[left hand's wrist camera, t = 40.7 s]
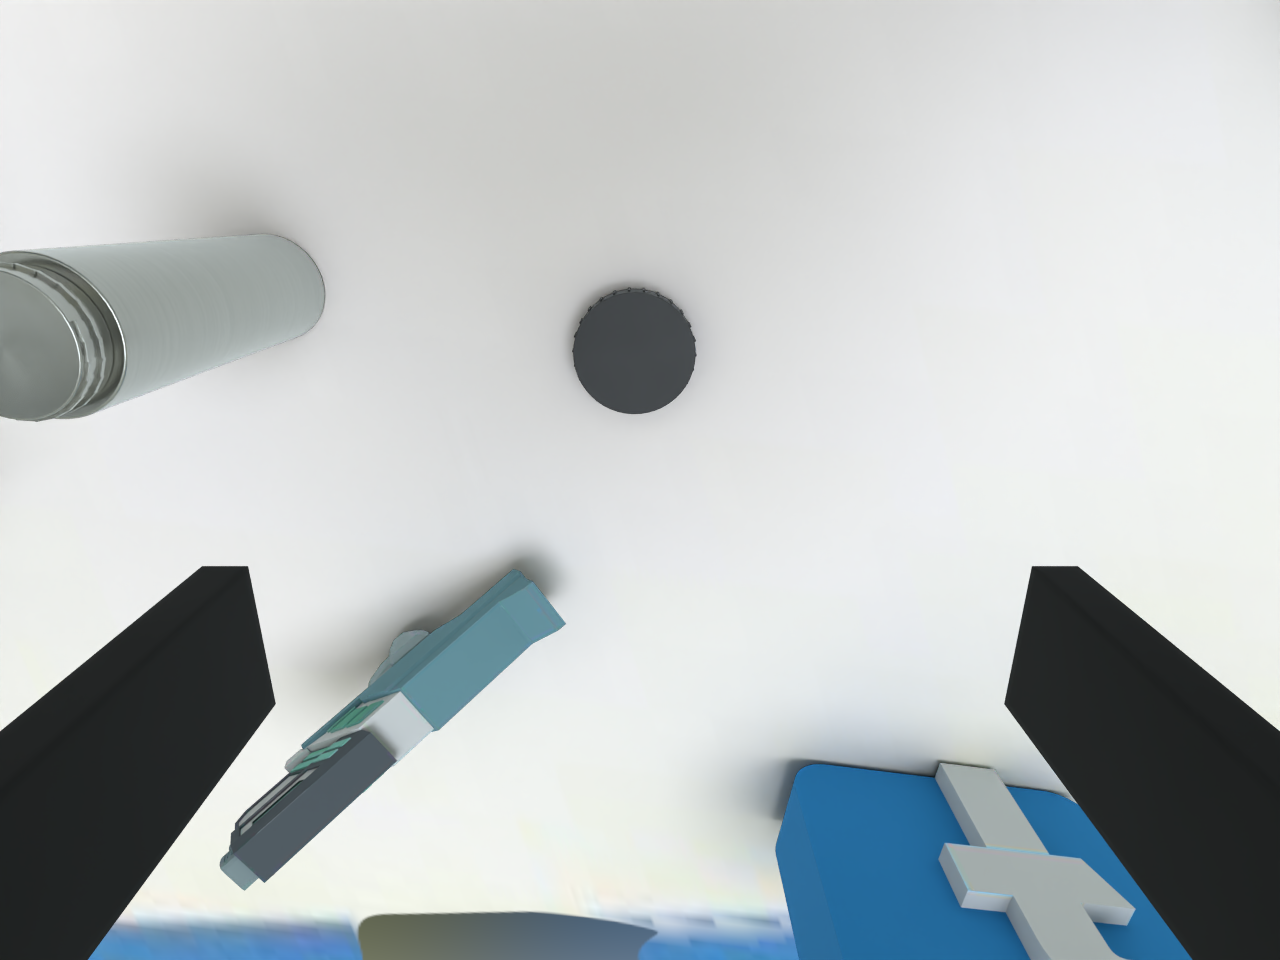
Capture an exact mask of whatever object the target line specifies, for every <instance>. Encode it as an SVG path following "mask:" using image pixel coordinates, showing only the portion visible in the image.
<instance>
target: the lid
mask: <svg viewBox="0 0 1280 960" xmlns="http://www.w3.org/2000/svg"><path fill="white" fill-rule="evenodd" d="M690 328H691V325H690V323H689V322H687V320H686V318H685V317H684V315H683V311H682V310H679V309H678V308H677V307H676V306H675V305H674V304H673V302H672V300H671V299H670V300H668V299H667V298H665V297H663V296H662V295H660V294H659V292H657V293H655V292H652V291H648V290H645V288H643V289H630V287H629V288H628V289H626V290H620V291H617V292H616V290H615V291H613V293H612V294H610V295H607V296H605V297H604V298H603V297H601V298H600V300H599V301H598V302H597V303H596V304H595V305H594V306H593V307H591V306H590V307H589V309H588V312H587V314H586V315H585V317H584V319H583V318H582V319H581V321H580V326H579V329H578V331H577V332H576V334H575V335H574V337H575V342H574V348H573V350H572V352H573V356H574V367H575V369H576V372H577V375H578V377H579V380H580V381H581V383H582V385H583V386H584V388H585V389H586V391H587V392H588V393H589V394H590V395H591V396H592V397H593V398H594V399H595V400H596V401H597V402H599V403H600V404H602V405H603V406H605V407H607V408H609V409H612V410H614V411H617V412H622V413H627V414H642V413H648V412H652V411H655V410H657V409H660V408H662V407H664V406H665V405H667V404H669V403H670V402H671V401H673V400H674V399H675V398H676V397H677V396H678V395H679V394H680V393H681V392H682V391H683V389H684V388H685V387H686V385H687V384H688V381H689V380H690V377H691V375H692V372H693V371H694V364H695V356H696V352H695V343H694V342H696V340H695V338H694V336H693V335H692V332H691V329H690Z"/></svg>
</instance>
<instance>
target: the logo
mask: <svg viewBox="0 0 1280 960" xmlns="http://www.w3.org/2000/svg"><path fill="white" fill-rule="evenodd" d="M776 857H777V861H778V866H779V870H780V875H781V879H782V884H783V888H784V893H785V897H786V902H787V906H788V911H789V916H790V920H791V925H792V929H793V934H794V938H795V943H796V947H797V952H798V956H799V960H1192V959H1191V957H1190V956H1189V954H1188V953H1187V952H1186V950H1185V949H1184V948H1183V946H1182V945H1181V944H1180V942H1179V941H1178V939H1177V938H1176V937H1175V935H1174V934H1173V933H1172V931H1171V930H1170V929H1169V927H1168V926H1167V925H1166V923H1165V922H1164V920H1163V919H1162V918H1161V916H1160V915H1159V914H1158V912H1157V911H1156V910H1155V908H1154V907H1153V905H1152V904H1151V903H1150V901H1149V900H1148V899H1147V897H1146V896H1145V895H1144V893H1143V892H1142V891H1141V889H1140V888H1139V886H1138V885H1137V884H1136V882H1135V881H1134V880H1133V878H1132V877H1131V876H1130V874H1129V873H1128V871H1127V870H1126V869H1125V867H1124V866H1123V865H1122V863H1121V862H1120V861H1119V859H1118V858H1117V857H1116V855H1115V854H1114V852H1113V851H1112V850H1111V848H1110V847H1109V846H1108V844H1107V843H1106V842H1105V840H1104V839H1103V837H1102V836H1101V835H1100V833H1099V832H1098V831H1097V829H1096V828H1095V827H1094V825H1093V824H1092V823H1091V821H1090V820H1089V818H1088V817H1087V816H1086V814H1085V813H1084V812H1083V810H1082V809H1081V808H1080V806H1079V805H1078V804H1076V803H1075V802H1073V801H1071V800H1069V799H1067V798H1065V797H1063V796H1060V795H1058V794H1055V793H1051V792H1047V791H1040V790H1032V789H1024V788H1015V787H1007V786H1005V784H1004V783H1003V781H1002V780H1001V778H1000V777H999V775H998V774H997V772H996V770H994V769H986V768H978V767H970V766H962V765H954V764H946V763H940V765H939V767H938V770H937V773H936V776H935V778H933V777H924V776H916V775H908V774H900V773H891V772H883V771H875V770H867V769H858V768H850V767H842V766H833V765H825V764H813V765H809V766H806V767H804V768H802V769H801V770H800V771H798V773H797V774H796V777H795V780H794V783H793V787H792V790H791V794H790V797H789V801H788V804H787V808H786V811H785V815H784V818H783V822H782V825H781V829H780V832H779V836H778V839H777V843H776Z"/></svg>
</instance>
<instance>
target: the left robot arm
mask: <svg viewBox="0 0 1280 960" xmlns="http://www.w3.org/2000/svg"><path fill="white" fill-rule="evenodd" d="M275 704H276V703H275V698H274V693H273V688H272V683H271V679H270V674H269V669H268V664H267V659H266V654H265V649H264V644H263V639H262V634H261V629H260V624H259V619H258V614H257V609H256V604H255V599H254V594H253V589H252V584H251V579H250V574H249V569H248V566H202V567H201V568H200V569H198V570H197V571H196V572H195V573H193V574H192V575H191V576H190V577H189V578H187V579H186V580H185V581H184V582H182V583H181V584H180V585H179V586H178V587H176V588H175V589H174V590H173V591H171V592H170V593H169V594H168V595H166V596H165V597H164V598H163V599H162V600H160V601H159V602H158V603H157V604H155V605H154V606H153V607H152V608H151V609H149V610H148V611H147V612H146V613H144V614H143V615H142V616H141V617H140V618H138V619H137V620H136V621H135V622H133V623H132V624H131V625H130V626H129V627H127V628H126V629H125V630H124V631H122V632H121V633H120V634H119V635H118V636H116V637H115V638H114V639H113V640H111V641H110V642H109V643H108V644H107V645H105V646H104V647H103V648H102V649H100V650H99V651H98V652H97V653H96V654H94V655H93V656H92V657H91V658H89V659H88V660H87V661H86V662H85V663H83V664H82V665H81V666H80V667H78V668H77V669H76V670H75V671H74V672H72V673H71V674H70V675H69V676H67V677H66V678H65V679H64V680H62V681H61V682H60V683H59V684H58V685H56V686H55V687H54V688H53V689H51V690H50V691H49V692H48V693H47V694H45V695H44V696H43V697H42V698H40V699H39V700H38V701H37V702H36V703H34V704H33V705H32V706H31V707H29V708H28V709H27V710H26V711H25V712H23V713H22V714H21V715H20V716H18V717H17V718H16V719H15V720H14V721H12V722H11V723H10V724H9V725H7V726H6V727H5V728H4V729H3V730H1V731H0V960H88V959H89V957H90V956H91V954H92V953H93V952H94V950H95V949H96V948H97V946H98V945H99V944H100V942H101V941H102V939H103V938H104V937H105V935H106V934H107V933H108V931H109V930H110V929H111V927H112V926H113V925H114V923H115V922H116V920H117V919H118V918H119V916H120V915H121V914H122V912H123V911H124V910H125V908H126V907H127V905H128V904H129V903H130V901H131V900H132V899H133V897H134V896H135V895H136V893H137V892H138V891H139V889H140V888H141V886H142V885H143V884H144V882H145V881H146V880H147V878H148V877H149V876H150V874H151V873H152V871H153V870H154V869H155V867H156V866H157V865H158V863H159V862H160V861H161V859H162V858H163V857H164V855H165V854H166V852H167V851H168V850H169V848H170V847H171V846H172V844H173V843H174V842H175V840H176V839H177V837H178V836H179V835H180V833H181V832H182V831H183V829H184V828H185V827H186V825H187V824H188V823H189V821H190V820H191V818H192V817H193V816H194V814H195V813H196V812H197V810H198V809H199V808H200V806H201V805H202V803H203V802H204V801H205V799H206V798H207V797H208V795H209V794H210V793H211V791H212V790H213V789H214V787H215V786H216V784H217V783H218V782H219V780H220V779H221V778H222V776H223V775H224V774H225V772H226V771H227V769H228V768H229V767H230V765H231V764H232V763H233V761H234V760H235V759H236V757H237V756H238V755H239V753H240V752H241V750H242V749H243V748H244V746H245V745H246V744H247V742H248V741H249V740H250V738H251V737H252V735H253V734H254V733H255V731H256V730H257V729H258V727H259V726H260V725H261V723H262V722H263V721H264V719H265V718H266V716H267V715H268V714H269V712H270V711H271V710H272V708H273V707H274V706H275ZM1004 704H1005V706H1006V707H1007V708H1008V710H1009V711H1010V712H1011V714H1012V715H1013V716H1014V718H1015V719H1016V721H1017V722H1018V723H1019V725H1020V726H1021V727H1022V729H1023V730H1024V731H1025V733H1026V734H1027V735H1028V737H1029V738H1030V740H1031V741H1032V742H1033V744H1034V745H1035V746H1036V748H1037V749H1038V750H1039V752H1040V753H1041V755H1042V756H1043V757H1044V759H1045V760H1046V761H1047V763H1048V764H1049V765H1050V767H1051V768H1052V769H1053V771H1054V772H1055V774H1056V775H1057V776H1058V778H1059V779H1060V780H1061V782H1062V783H1063V784H1064V786H1065V787H1066V789H1067V790H1068V791H1069V793H1070V794H1071V795H1072V797H1073V798H1074V799H1075V801H1076V802H1077V803H1078V805H1079V806H1080V808H1081V809H1082V810H1083V812H1084V813H1085V814H1086V816H1087V817H1088V818H1089V820H1090V821H1091V823H1092V824H1093V825H1094V827H1095V828H1096V829H1097V831H1098V832H1099V833H1100V835H1101V836H1102V837H1103V839H1104V840H1105V842H1106V843H1107V844H1108V846H1109V847H1110V848H1111V850H1112V851H1113V852H1114V854H1115V855H1116V857H1117V858H1118V859H1119V861H1120V862H1121V863H1122V865H1123V866H1124V867H1125V869H1126V870H1127V871H1128V873H1129V874H1130V876H1131V877H1132V878H1133V880H1134V881H1135V882H1136V884H1137V885H1138V886H1139V888H1140V889H1141V891H1142V892H1143V893H1144V895H1145V896H1146V897H1147V899H1148V900H1149V901H1150V903H1151V904H1152V905H1153V907H1154V908H1155V910H1156V911H1157V912H1158V914H1159V915H1160V916H1161V918H1162V919H1163V920H1164V922H1165V923H1166V925H1167V926H1168V927H1169V929H1170V930H1171V931H1172V933H1173V934H1174V935H1175V937H1176V938H1177V939H1178V941H1179V942H1180V944H1181V945H1182V946H1183V948H1184V949H1185V950H1186V952H1187V953H1188V954H1189V956H1190V957H1191V959H1192V960H1280V731H1279V730H1277V729H1276V728H1275V727H1274V726H1273V725H1271V724H1270V723H1269V722H1268V721H1266V720H1265V719H1264V718H1263V717H1262V716H1260V715H1259V714H1258V713H1257V712H1255V711H1254V710H1253V709H1252V708H1251V707H1249V706H1248V705H1247V704H1246V703H1244V702H1243V701H1242V700H1241V699H1240V698H1238V697H1237V696H1236V695H1235V694H1233V693H1232V692H1231V691H1230V690H1229V689H1227V688H1226V687H1225V686H1224V685H1222V684H1221V683H1220V682H1219V681H1218V680H1216V679H1215V678H1214V677H1213V676H1211V675H1210V674H1209V673H1208V672H1206V671H1205V670H1204V669H1203V668H1202V667H1200V666H1199V665H1198V664H1197V663H1195V662H1194V661H1193V660H1192V659H1191V658H1189V657H1188V656H1187V655H1186V654H1184V653H1183V652H1182V651H1181V650H1180V649H1178V648H1177V647H1176V646H1175V645H1173V644H1172V643H1171V642H1170V641H1169V640H1167V639H1166V638H1165V637H1164V636H1162V635H1161V634H1160V633H1159V632H1158V631H1156V630H1155V629H1154V628H1153V627H1151V626H1150V625H1149V624H1148V623H1147V622H1145V621H1144V620H1143V619H1142V618H1140V617H1139V616H1138V615H1137V614H1136V613H1134V612H1133V611H1132V610H1131V609H1129V608H1128V607H1127V606H1126V605H1125V604H1123V603H1122V602H1121V601H1120V600H1118V599H1117V598H1116V597H1115V596H1114V595H1112V594H1111V593H1110V592H1109V591H1107V590H1106V589H1105V588H1104V587H1102V586H1101V585H1100V584H1099V583H1098V582H1096V581H1095V580H1094V579H1093V578H1091V577H1090V576H1089V575H1088V574H1087V573H1085V572H1084V571H1083V570H1082V569H1080V568H1079V567H1078V566H1032V569H1031V574H1030V579H1029V584H1028V589H1027V594H1026V599H1025V604H1024V609H1023V614H1022V619H1021V624H1020V629H1019V634H1018V639H1017V644H1016V649H1015V654H1014V659H1013V664H1012V669H1011V674H1010V678H1009V683H1008V688H1007V693H1006V698H1005V703H1004Z"/></svg>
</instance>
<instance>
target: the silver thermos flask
mask: <svg viewBox="0 0 1280 960" xmlns="http://www.w3.org/2000/svg"><path fill="white" fill-rule="evenodd" d="M324 299H325V292H324V285H323V281H322V278H321V275H320V272H319V270H318V268H317V267H316V265H315V263H314V262H313V260H312V259H311V258H310V257H309V255H308V254H307V253H306V252H305V251H304V250H303V249H301V248H300V247H299V246H298V245H296V244H295V243H293V242H291V241H289V240H287V239H285V238H283V237H280V236H276V235H271V234H253V235H238V236H223V237H209V238H194V239H179V240H164V241H149V242H134V243H119V244H104V245H90V246H75V247H60V248H45V249H30V250H15V251H7V252H1V253H0V416H2V417H6V418H10V419H16V420H23V421H35V422H38V421H43V420H48V419H53V418H55V419H74V418H81V417H84V416H88V415H91V414H94V413H96V412H99V411H102V410H104V409H107V408H110V407H112V406H115V405H118V404H120V403H123V402H126V401H128V400H131V399H134V398H136V397H139V396H142V395H144V394H147V393H150V392H152V391H155V390H158V389H160V388H163V387H166V386H168V385H171V384H174V383H176V382H179V381H182V380H184V379H187V378H190V377H192V376H195V375H198V374H200V373H203V372H206V371H208V370H211V369H214V368H216V367H219V366H222V365H224V364H227V363H230V362H232V361H235V360H238V359H240V358H243V357H246V356H248V355H251V354H254V353H256V352H259V351H262V350H264V349H267V348H270V347H272V346H275V345H278V344H280V343H283V342H286V341H288V340H291V339H294V338H296V337H299V336H301V335H303V334H304V333H306V332H308V331H309V330H310V329H311V328H312V327H313V326H314V325H315V324H316V322H317V321H318V319H319V317H320V315H321V313H322V310H323V306H324Z"/></svg>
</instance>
